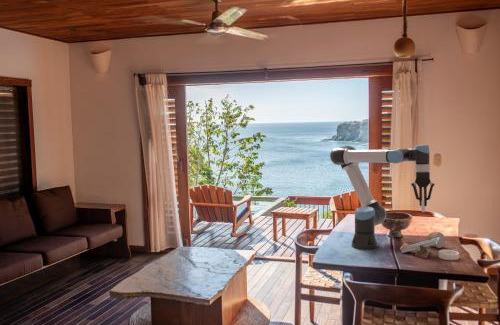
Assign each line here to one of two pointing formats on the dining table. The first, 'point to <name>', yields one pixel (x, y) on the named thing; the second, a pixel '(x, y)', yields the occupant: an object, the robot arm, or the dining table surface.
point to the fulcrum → (422, 252)
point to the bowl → (448, 254)
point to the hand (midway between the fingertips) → (423, 211)
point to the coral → (436, 235)
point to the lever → (417, 245)
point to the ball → (405, 245)
